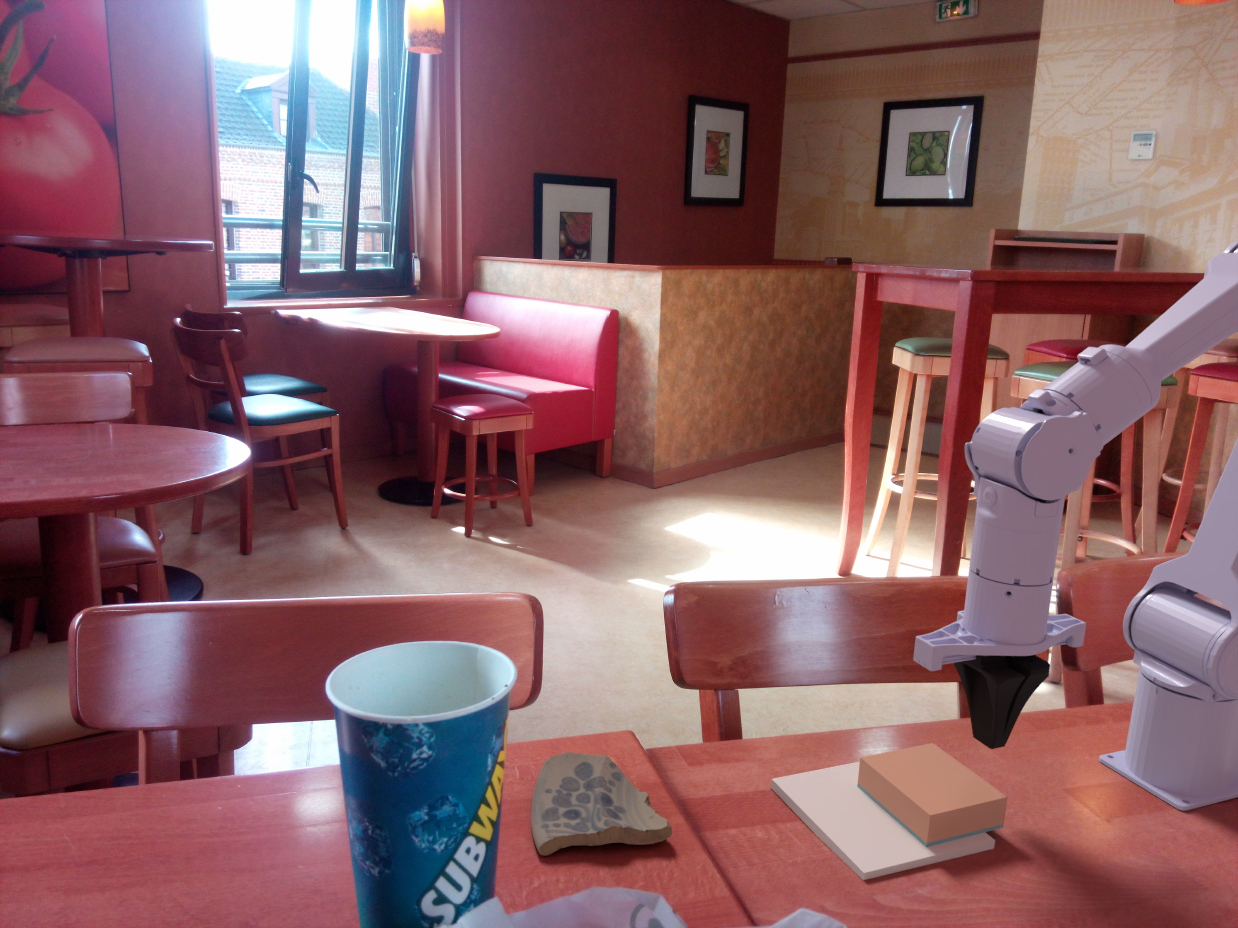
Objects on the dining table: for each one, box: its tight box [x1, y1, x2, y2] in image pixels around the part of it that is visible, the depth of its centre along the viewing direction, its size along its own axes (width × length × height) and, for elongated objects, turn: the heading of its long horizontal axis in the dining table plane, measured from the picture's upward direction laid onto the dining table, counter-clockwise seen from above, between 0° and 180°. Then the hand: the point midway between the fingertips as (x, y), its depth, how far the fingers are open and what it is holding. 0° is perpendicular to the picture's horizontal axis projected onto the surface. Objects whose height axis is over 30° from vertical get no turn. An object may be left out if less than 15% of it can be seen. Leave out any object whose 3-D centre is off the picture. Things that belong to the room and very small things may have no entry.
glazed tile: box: [857, 742, 1008, 847], centre depth 69 cm, size 2×8×7 cm
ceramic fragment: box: [530, 751, 673, 857], centre depth 68 cm, size 11×3×10 cm
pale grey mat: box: [770, 761, 996, 881], centre depth 69 cm, size 11×12×1 cm
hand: (988, 741), depth 71 cm, fingers closed
